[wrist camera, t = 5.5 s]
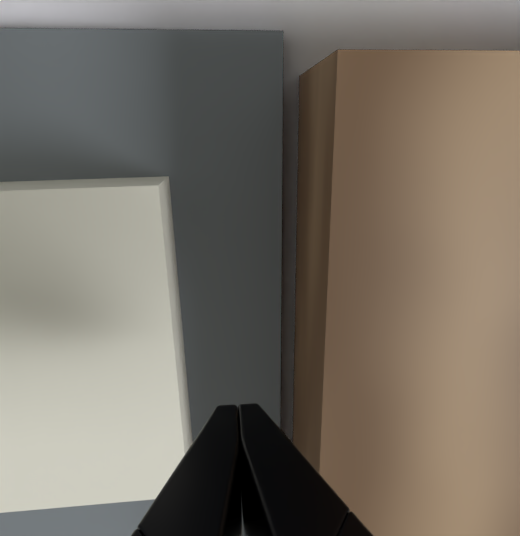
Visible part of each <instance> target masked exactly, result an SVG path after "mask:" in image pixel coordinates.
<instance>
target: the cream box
mask: <svg viewBox="0 0 520 536" xmlns="http://www.w3.org/2000/svg"><path fill="white" fill-rule="evenodd" d="M192 443H193V441H192V430H191V419H190V407H189V396H188V385H187V374H186V363H185V352H184V340H183V329H182V318H181V307H180V296H179V285H178V273H177V262H176V251H175V240H174V229H173V217H172V206H171V195H170V184H169V176H162V177H132V178H102V179H72V180H42V181H13V182H0V513H5V512H16V511H27V510H39V509H50V508H61V507H73V506H84V505H95V504H107V503H118V502H130V501H141V500H152V499H156V497H157V496H158V494H159V493H160V491H161V490H162V488H163V487H164V485H165V484H166V482H167V481H168V479H169V478H170V476H171V475H172V473H173V472H174V470H175V469H176V467H177V466H178V464H179V463H180V461H181V459H182V458H183V456H184V455H185V453H186V452H187V450H188V449H189V447H190V446H191V444H192Z"/></svg>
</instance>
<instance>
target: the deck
mask: <svg viewBox="0 0 520 536" xmlns="http://www.w3.org/2000/svg"><path fill="white" fill-rule="evenodd" d="M293 444H294V445H295V446H296V447H297V449H298V450H299V451H300V452H301V453H302V454H303V456H304V457H305V458H306V459H307V460H308V461H309V462H310V464H311V465H312V466H313V467H314V468H315V469H316V470H317V472H318V473H319V474H320V475H321V476H322V477H323V478H324V480H325V481H326V482H327V483H328V484H329V485H330V487H331V488H332V489H333V490H334V491H335V492H336V493H337V495H338V496H339V497H340V498H341V499H342V500H343V501H344V503H345V504H346V505H347V506H348V507H349V509H350V511H352V512H353V513H354V514H355V515H356V516H357V517H358V519H359V520H360V521H361V522H362V523H363V524H364V525H365V527H366V528H367V529H368V530H369V531H370V532H371V533H372V534H373V535H374V536H520V51H501V50H336V51H335V52H334V53H332V54H331V55H329V56H328V57H326V58H325V59H323V60H322V61H320V62H319V63H318V64H316V65H315V66H313V67H312V68H310V69H309V70H307V71H306V72H305V73H303V74H302V75H300V76H299V124H298V177H297V231H296V284H295V338H294V391H293Z"/></svg>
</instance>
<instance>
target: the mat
mask: <svg viewBox="0 0 520 536" xmlns="http://www.w3.org/2000/svg"><path fill="white" fill-rule="evenodd" d="M282 131H283V31H261V30H156V29H51V28H0V182H13V181H42V180H72V179H102V178H132V177H162V176H169V184H170V195H171V206H172V217H173V229H174V240H175V251H176V262H177V273H178V285H179V296H180V307H181V318H182V329H183V340H184V352H185V363H186V374H187V385H188V396H189V407H190V419H191V430H192V441H194V440H195V438H196V437H197V435H198V434H199V432H200V431H201V429H202V428H203V426H204V425H205V423H206V422H207V420H208V419H209V417H210V416H211V414H212V413H213V411H214V410H215V408H216V407H217V406H219V405H236V406H237V407H238V406H239V405H240V404H250V403H257V404H259V405H260V406H261V407H262V408H263V410H264V411H265V412H266V413H267V414H268V415H269V416H270V418H271V419H272V420H273V421H274V422H275V423H276V425H277V426H278V427H279V428H280V391H281V261H282ZM154 500H155V499H152V500H141V501H130V502H118V503H107V504H95V505H84V506H73V507H61V508H50V509H39V510H27V511H16V512H5V513H0V536H131V534H132V533H133V531H134V530H135V529H137V526H138V524H139V523H140V521H141V520H142V518H143V517H144V515H145V514H146V512H147V511H148V509H149V508H150V506H151V505H152V503H153V502H154ZM241 501H242V499H241ZM241 536H245V534H244V526H243V516H242V535H241Z"/></svg>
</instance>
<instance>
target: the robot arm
mask: <svg viewBox="0 0 520 536" xmlns="http://www.w3.org/2000/svg"><path fill="white" fill-rule="evenodd" d="M241 499H242V501H241ZM242 516H243V526H244V534H245V536H374V535H373V534H372V533H371V532H370V531H369V530H368V529H367V528H366V527H365V525H364V524H363V523H362V522H361V521H360V520H359V519H358V517H357V516H356V515H355V514H354V513H353V512H352V511H350V509H349V507H348V506H347V505H346V504H345V503H344V501H343V500H342V499H341V498H340V497H339V496H338V495H337V493H336V492H335V491H334V490H333V489H332V488H331V487H330V485H329V484H328V483H327V482H326V481H325V480H324V478H323V477H322V476H321V475H320V474H319V473H318V472H317V470H316V469H315V468H314V467H313V466H312V465H311V464H310V462H309V461H308V460H307V459H306V458H305V457H304V456H303V454H302V453H301V452H300V451H299V450H298V449H297V447H296V446H295V445H294V444H293V443H292V442H291V441H290V439H289V438H288V437H287V436H286V435H285V434H284V433H283V431H282V430H281V429H280V428H279V427H278V426H277V425H276V423H275V422H274V421H273V420H272V419H271V418H270V416H269V415H268V414H267V413H266V412H265V411H264V410H263V408H262V407H261V406H260V405H259V404H257V403H250V404H240V405H239V406H238V407H237V406H236V405H219V406H217V407H216V408H215V410H214V411H213V413H212V414H211V416H210V417H209V419H208V420H207V422H206V423H205V425H204V426H203V428H202V429H201V431H200V432H199V434H198V435H197V437H196V438H195V440H194V441H193V443H192V444H191V446H190V447H189V449H188V450H187V452H186V453H185V455H184V456H183V458H182V459H181V461H180V463H179V464H178V466H177V467H176V469H175V470H174V472H173V473H172V475H171V476H170V478H169V479H168V481H167V482H166V484H165V485H164V487H163V488H162V490H161V491H160V493H159V494H158V496H157V497H156V499H155V500H154V502H153V503H152V505H151V506H150V508H149V509H148V511H147V512H146V514H145V515H144V517H143V518H142V520H141V521H140V523H139V524H138V526H137V529H135V530H134V531H133V533H132V534H131V536H241V535H242Z"/></svg>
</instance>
